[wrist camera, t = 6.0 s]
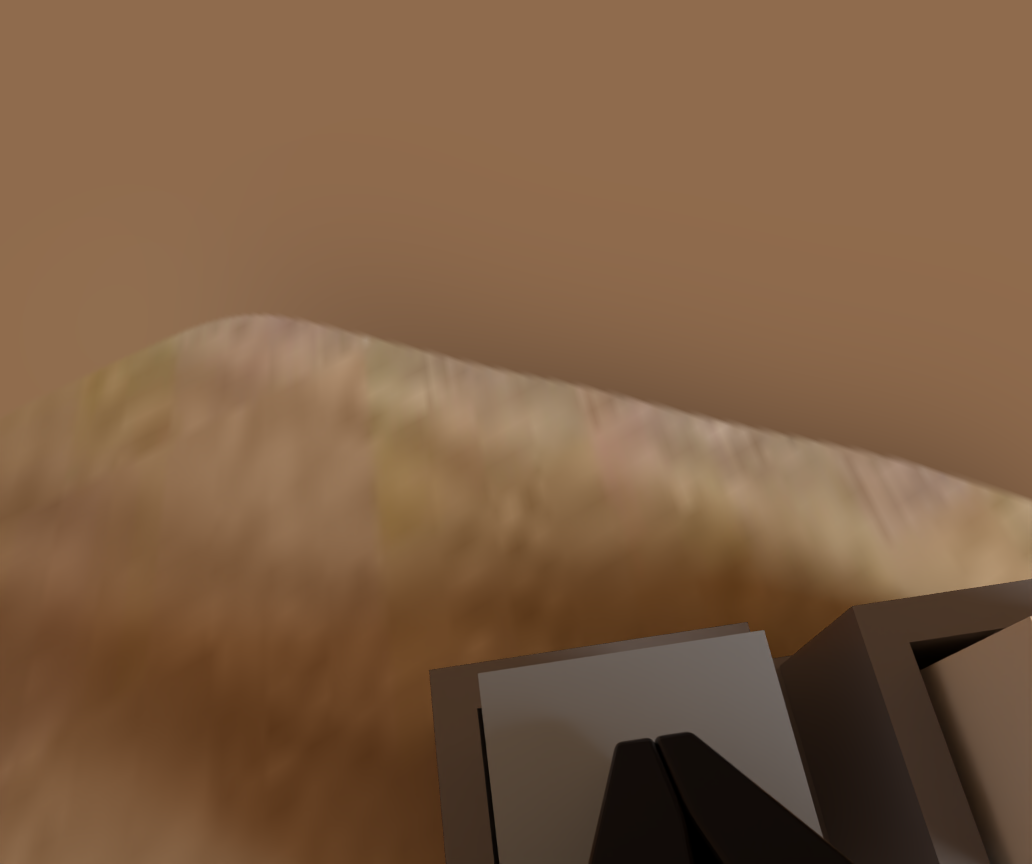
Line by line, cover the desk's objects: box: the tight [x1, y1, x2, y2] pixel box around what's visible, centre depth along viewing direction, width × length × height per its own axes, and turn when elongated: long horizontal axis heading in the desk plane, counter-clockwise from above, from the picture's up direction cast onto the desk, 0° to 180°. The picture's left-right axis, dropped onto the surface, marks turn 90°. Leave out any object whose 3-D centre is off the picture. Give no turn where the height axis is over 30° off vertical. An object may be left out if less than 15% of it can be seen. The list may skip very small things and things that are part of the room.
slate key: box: [478, 630, 823, 864], centre depth 12 cm, size 4×4×7 cm
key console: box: [429, 579, 1032, 864], centre depth 17 cm, size 6×15×6 cm, turn 98°
